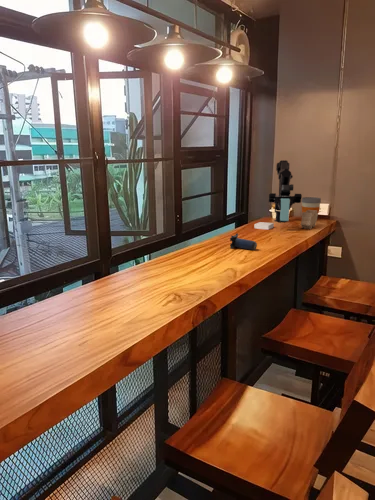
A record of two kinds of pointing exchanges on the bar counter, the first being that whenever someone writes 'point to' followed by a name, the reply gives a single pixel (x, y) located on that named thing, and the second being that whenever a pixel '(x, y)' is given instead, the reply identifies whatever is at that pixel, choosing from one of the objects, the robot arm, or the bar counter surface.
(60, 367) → the bar counter surface
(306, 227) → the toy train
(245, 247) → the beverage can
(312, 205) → the reusable coffee cup
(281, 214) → the teal column
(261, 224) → the base brick
